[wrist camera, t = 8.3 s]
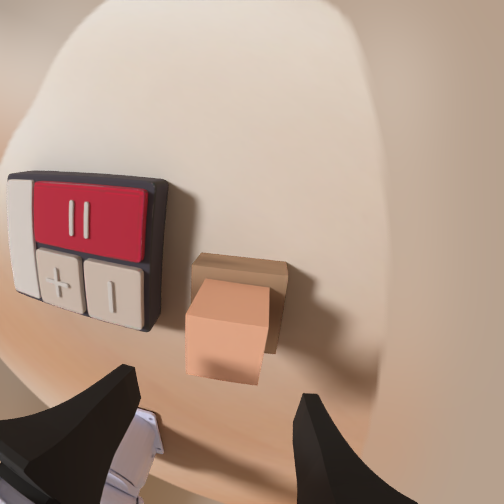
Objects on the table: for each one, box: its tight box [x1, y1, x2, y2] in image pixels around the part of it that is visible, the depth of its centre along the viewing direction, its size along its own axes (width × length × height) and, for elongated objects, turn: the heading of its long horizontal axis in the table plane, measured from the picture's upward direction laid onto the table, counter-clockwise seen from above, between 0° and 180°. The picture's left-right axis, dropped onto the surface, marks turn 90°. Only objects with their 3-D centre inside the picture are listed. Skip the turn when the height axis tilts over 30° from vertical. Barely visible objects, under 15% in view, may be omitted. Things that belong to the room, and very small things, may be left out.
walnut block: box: [191, 253, 289, 354], centre depth 19 cm, size 6×6×3 cm
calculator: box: [7, 171, 168, 332], centre depth 18 cm, size 11×4×15 cm
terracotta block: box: [185, 278, 270, 385], centre depth 15 cm, size 4×4×4 cm
